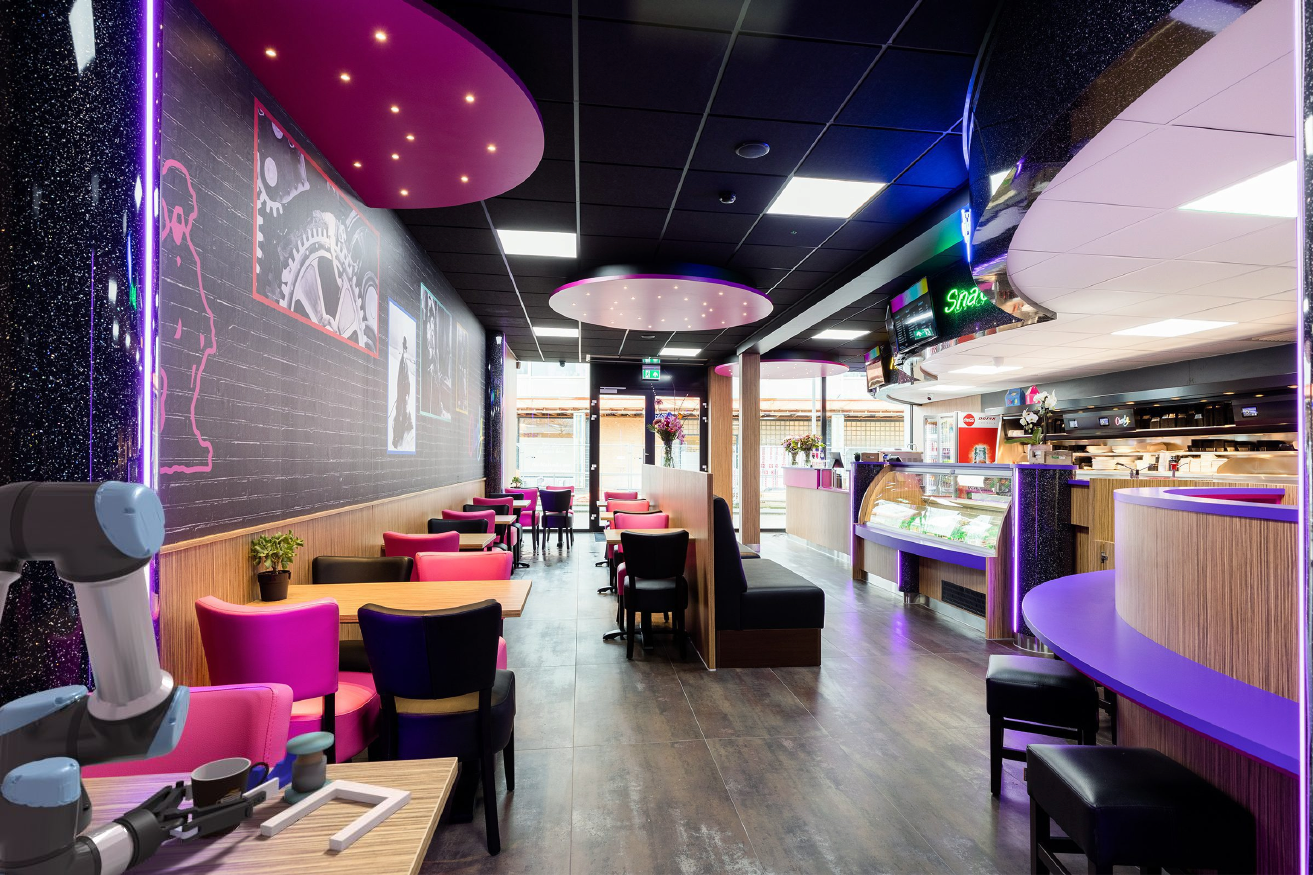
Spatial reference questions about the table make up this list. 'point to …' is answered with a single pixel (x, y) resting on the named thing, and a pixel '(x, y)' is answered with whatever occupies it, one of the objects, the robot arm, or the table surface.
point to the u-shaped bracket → (381, 796)
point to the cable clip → (273, 773)
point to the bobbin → (308, 765)
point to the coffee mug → (222, 785)
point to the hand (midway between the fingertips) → (249, 780)
